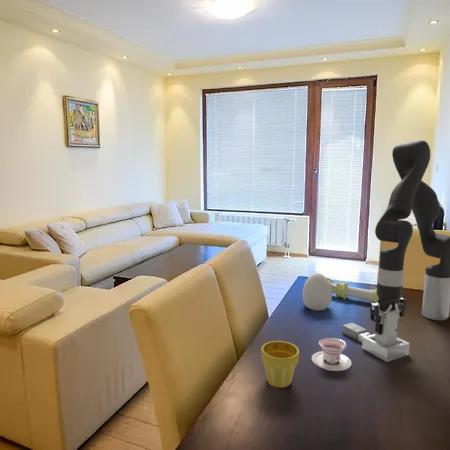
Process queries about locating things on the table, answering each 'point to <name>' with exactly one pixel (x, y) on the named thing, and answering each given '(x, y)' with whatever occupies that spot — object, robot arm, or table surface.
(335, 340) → the teacup
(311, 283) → the decorative egg
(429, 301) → the robot arm
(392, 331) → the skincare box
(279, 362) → the plant pot
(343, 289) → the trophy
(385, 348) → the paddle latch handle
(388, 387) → the table surface
